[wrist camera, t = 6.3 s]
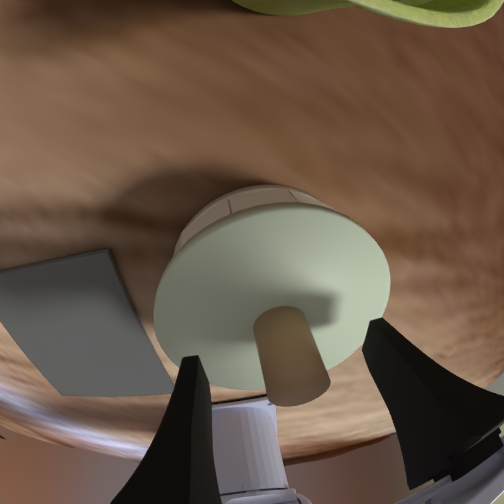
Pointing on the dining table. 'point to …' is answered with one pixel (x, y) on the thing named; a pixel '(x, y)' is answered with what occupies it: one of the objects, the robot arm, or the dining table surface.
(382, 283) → the lid
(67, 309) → the mat
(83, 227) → the dining table surface
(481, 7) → the plant pot
